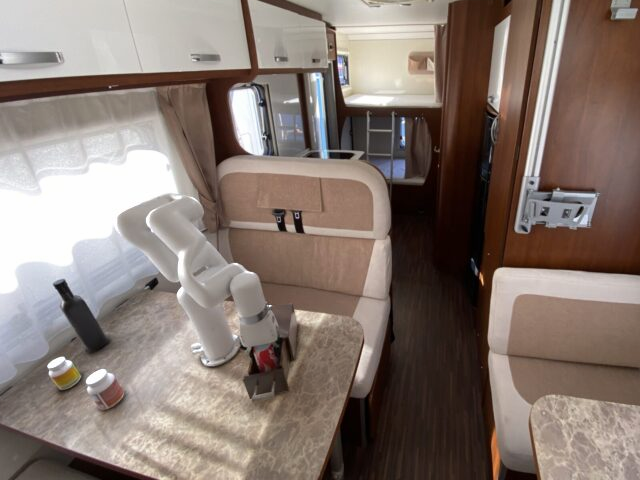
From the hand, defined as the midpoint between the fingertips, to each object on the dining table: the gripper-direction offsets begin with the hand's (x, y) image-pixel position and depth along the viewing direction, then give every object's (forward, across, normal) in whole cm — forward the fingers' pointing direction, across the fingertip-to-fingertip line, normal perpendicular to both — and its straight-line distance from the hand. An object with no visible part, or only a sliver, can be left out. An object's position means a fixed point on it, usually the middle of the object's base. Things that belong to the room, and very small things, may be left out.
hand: (266, 355), depth 94 cm
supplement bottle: (+11, +67, -14) cm, 69 cm away
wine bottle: (+11, +68, -28) cm, 74 cm away
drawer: (+9, 0, +2) cm, 9 cm away
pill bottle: (+10, +49, -4) cm, 50 cm away
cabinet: (+10, 0, -12) cm, 16 cm away
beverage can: (+7, 0, 0) cm, 7 cm away
